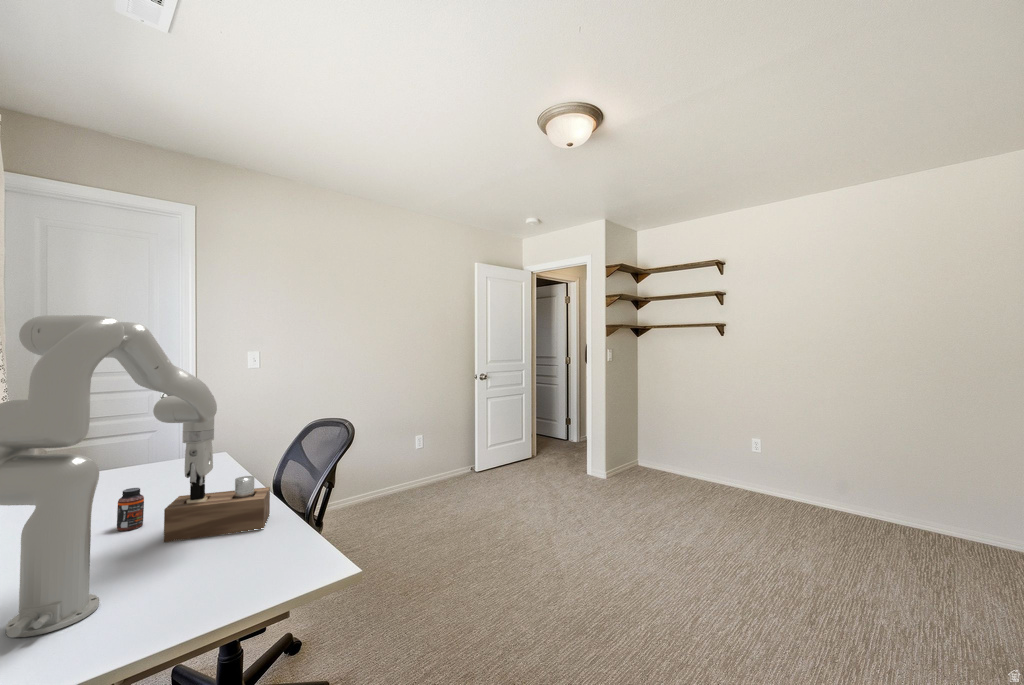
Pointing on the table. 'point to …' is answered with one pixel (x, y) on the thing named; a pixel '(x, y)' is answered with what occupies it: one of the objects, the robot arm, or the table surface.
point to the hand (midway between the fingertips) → (197, 498)
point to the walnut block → (216, 515)
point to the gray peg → (244, 487)
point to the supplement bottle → (130, 510)
